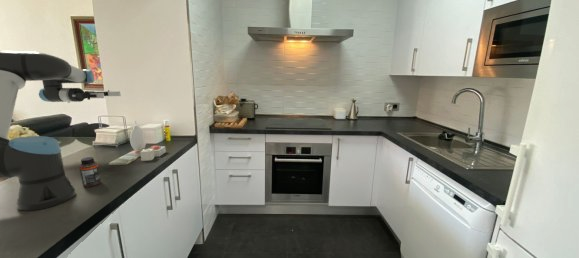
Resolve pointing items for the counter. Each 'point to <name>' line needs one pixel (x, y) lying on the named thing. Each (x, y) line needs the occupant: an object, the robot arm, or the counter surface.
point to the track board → (127, 158)
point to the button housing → (159, 151)
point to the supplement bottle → (89, 172)
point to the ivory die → (147, 154)
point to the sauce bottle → (137, 138)
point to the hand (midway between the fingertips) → (112, 94)
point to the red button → (155, 147)
